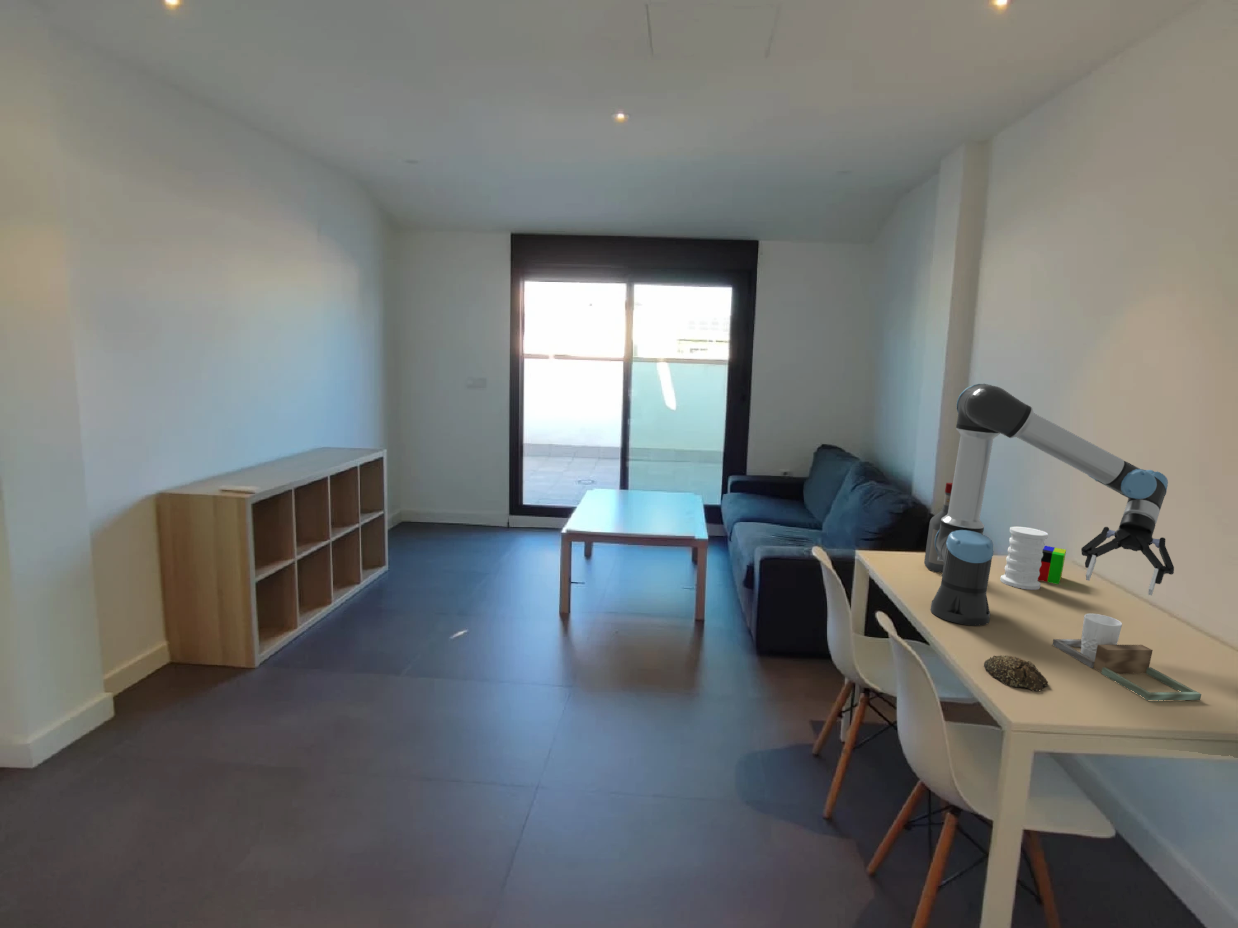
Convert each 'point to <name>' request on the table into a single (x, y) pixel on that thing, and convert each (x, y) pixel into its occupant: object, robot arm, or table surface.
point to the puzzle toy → (1052, 564)
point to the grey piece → (1127, 668)
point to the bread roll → (1015, 672)
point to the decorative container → (1024, 558)
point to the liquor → (931, 555)
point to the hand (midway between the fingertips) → (1118, 584)
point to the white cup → (1098, 633)
